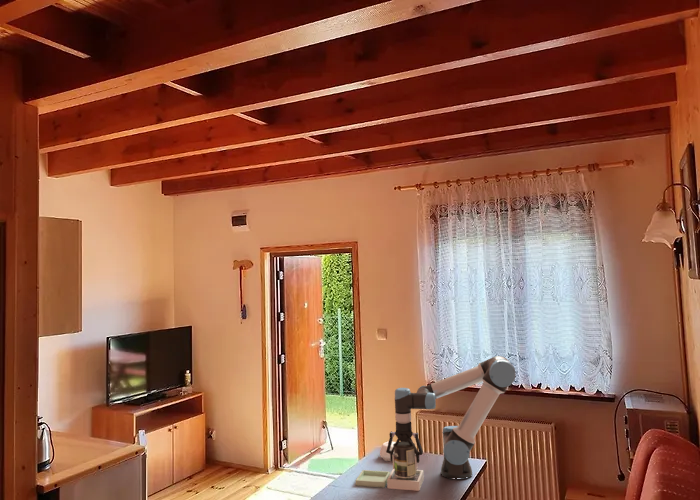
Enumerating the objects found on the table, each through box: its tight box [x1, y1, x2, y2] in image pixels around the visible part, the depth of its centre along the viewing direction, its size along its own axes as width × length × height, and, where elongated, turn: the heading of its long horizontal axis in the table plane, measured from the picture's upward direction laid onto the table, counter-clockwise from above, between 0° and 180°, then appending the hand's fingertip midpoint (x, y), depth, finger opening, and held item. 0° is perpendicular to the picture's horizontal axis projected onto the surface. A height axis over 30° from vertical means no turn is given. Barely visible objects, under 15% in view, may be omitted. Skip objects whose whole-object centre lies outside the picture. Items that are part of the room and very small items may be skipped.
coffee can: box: [393, 441, 416, 479], centre depth 252 cm, size 10×10×14 cm
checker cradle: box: [386, 468, 425, 492], centre depth 251 cm, size 15×15×4 cm
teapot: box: [379, 439, 396, 462], centre depth 287 cm, size 20×12×10 cm, turn 10°
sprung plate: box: [392, 473, 420, 481], centre depth 252 cm, size 12×12×1 cm
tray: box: [355, 469, 391, 489], centre depth 256 cm, size 14×14×2 cm
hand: (405, 468), depth 252 cm, fingers closed on coffee can, 10 cm apart
